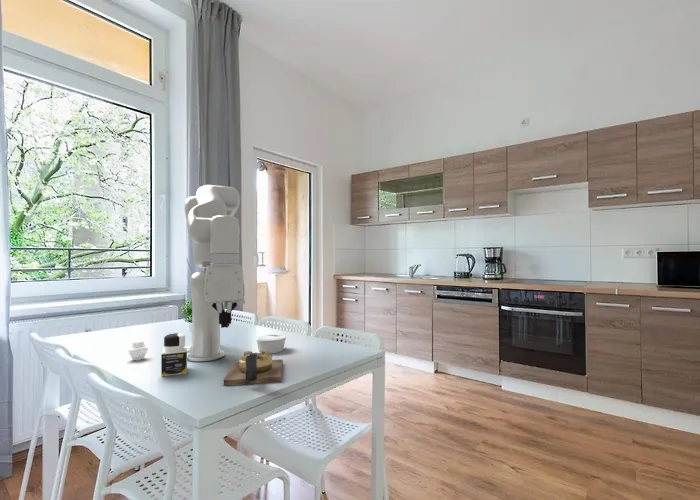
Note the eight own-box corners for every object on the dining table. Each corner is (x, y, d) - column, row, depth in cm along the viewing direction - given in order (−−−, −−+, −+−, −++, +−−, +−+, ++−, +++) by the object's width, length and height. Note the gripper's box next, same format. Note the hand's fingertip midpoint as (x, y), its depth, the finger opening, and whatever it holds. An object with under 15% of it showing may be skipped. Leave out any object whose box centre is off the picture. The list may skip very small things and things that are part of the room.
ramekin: (288, 347, 145) (288, 334, 145) (282, 354, 134) (282, 340, 134) (261, 347, 145) (261, 334, 145) (252, 354, 134) (252, 340, 134)
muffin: (126, 359, 129) (126, 340, 129) (145, 356, 133) (145, 337, 133) (130, 362, 125) (131, 342, 125) (150, 359, 129) (150, 339, 129)
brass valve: (241, 364, 115) (241, 341, 116) (273, 362, 117) (272, 339, 117) (231, 383, 97) (231, 356, 97) (269, 381, 99) (269, 354, 99)
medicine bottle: (161, 376, 109) (161, 337, 110) (163, 370, 116) (163, 333, 116) (186, 373, 112) (186, 335, 112) (187, 367, 119) (187, 331, 119)
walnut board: (223, 385, 101) (223, 380, 101) (234, 366, 119) (234, 362, 119) (280, 381, 103) (280, 376, 104) (282, 363, 121) (282, 359, 121)
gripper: (192, 260, 94) (192, 330, 93) (250, 259, 96) (251, 328, 96) (200, 261, 101) (200, 325, 101) (254, 260, 104) (254, 323, 103)
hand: (225, 326), depth 98 cm, fingers closed
